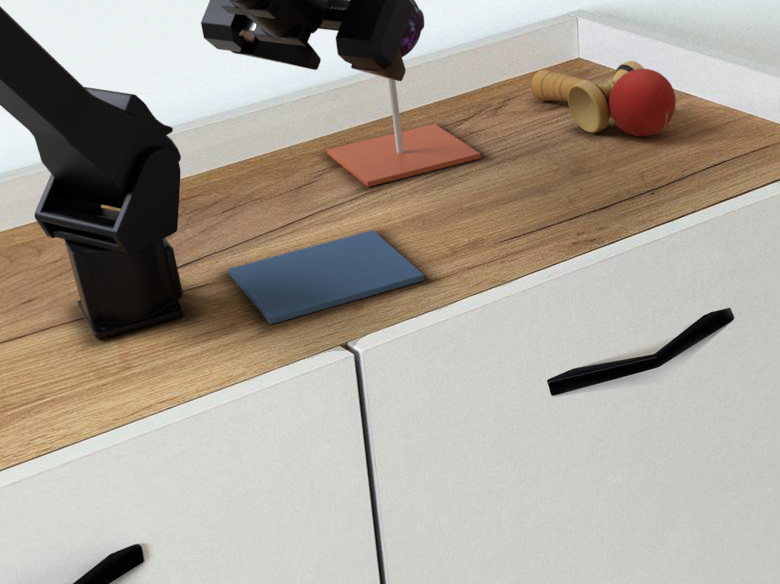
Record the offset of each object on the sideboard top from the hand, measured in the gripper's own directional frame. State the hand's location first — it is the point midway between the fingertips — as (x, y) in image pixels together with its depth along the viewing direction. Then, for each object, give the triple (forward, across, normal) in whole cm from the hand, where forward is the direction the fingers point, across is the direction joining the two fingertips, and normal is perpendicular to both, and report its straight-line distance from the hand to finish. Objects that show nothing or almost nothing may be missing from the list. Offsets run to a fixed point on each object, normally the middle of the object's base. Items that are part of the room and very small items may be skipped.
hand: (359, 70), depth 112 cm
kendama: (+20, -12, -7) cm, 25 cm away
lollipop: (+9, 0, +3) cm, 10 cm away
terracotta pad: (+10, 0, +3) cm, 10 cm away
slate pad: (-6, -10, +20) cm, 23 cm away
